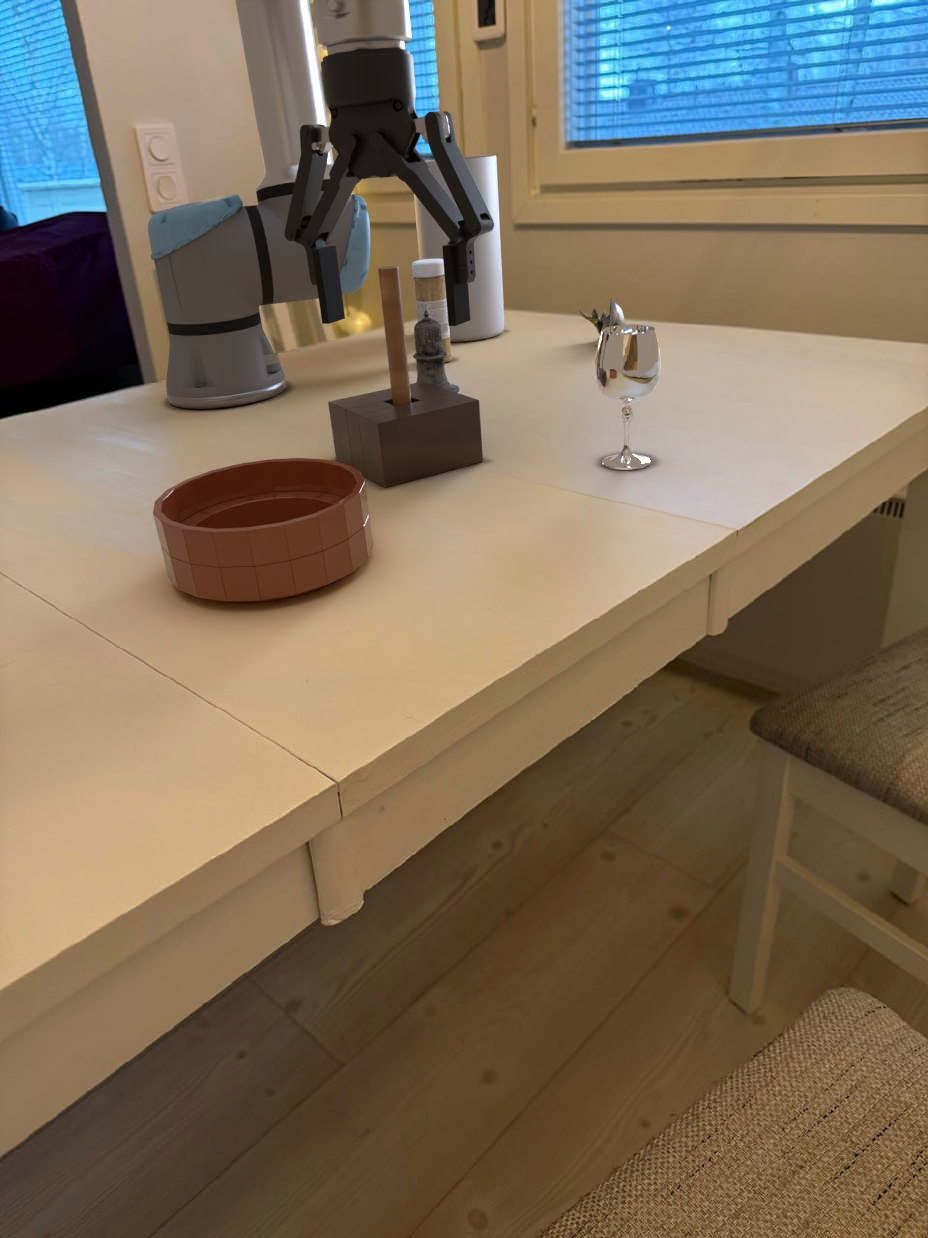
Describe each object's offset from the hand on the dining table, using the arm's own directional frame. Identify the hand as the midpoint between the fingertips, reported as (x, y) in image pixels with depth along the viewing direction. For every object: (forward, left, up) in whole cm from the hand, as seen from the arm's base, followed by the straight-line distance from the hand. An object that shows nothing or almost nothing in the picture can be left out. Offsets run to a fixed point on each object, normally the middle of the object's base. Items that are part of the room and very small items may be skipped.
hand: (394, 322), depth 84 cm
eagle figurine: (-26, +48, -14) cm, 56 cm away
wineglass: (+15, +15, -13) cm, 25 cm away
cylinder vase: (-50, +38, -13) cm, 64 cm away
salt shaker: (-10, +9, -14) cm, 19 cm away
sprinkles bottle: (-37, +25, -13) cm, 47 cm away
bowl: (+15, -20, -13) cm, 28 cm away
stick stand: (0, 0, -13) cm, 13 cm away
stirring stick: (0, 0, -13) cm, 13 cm away
